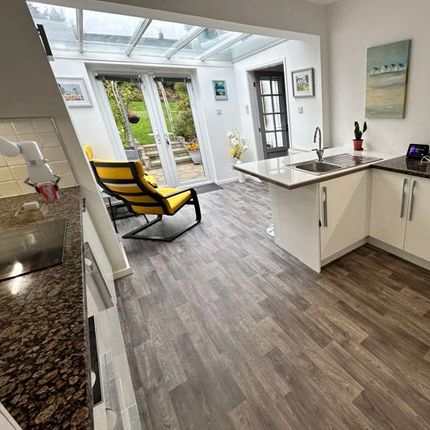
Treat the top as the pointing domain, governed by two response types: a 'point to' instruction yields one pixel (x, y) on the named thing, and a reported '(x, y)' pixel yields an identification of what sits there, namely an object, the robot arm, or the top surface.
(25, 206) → the block
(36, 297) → the top surface
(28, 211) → the rack
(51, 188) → the soda can
